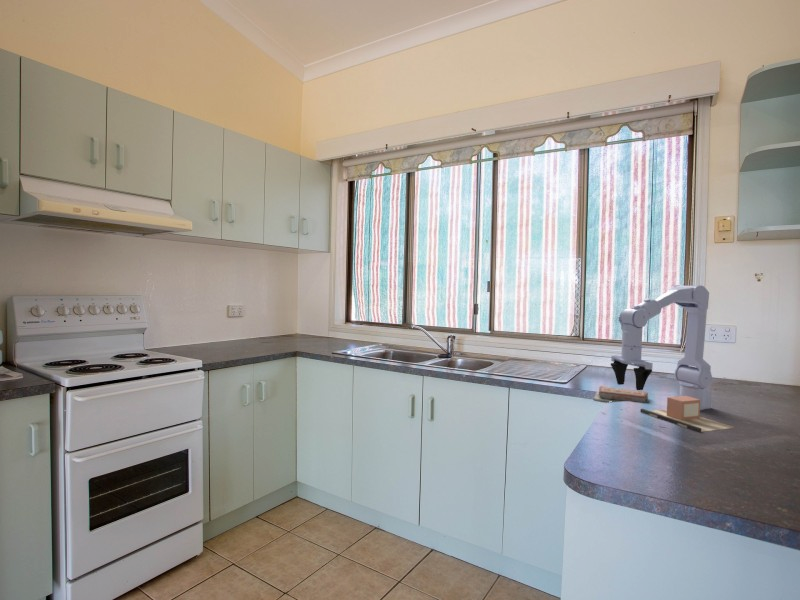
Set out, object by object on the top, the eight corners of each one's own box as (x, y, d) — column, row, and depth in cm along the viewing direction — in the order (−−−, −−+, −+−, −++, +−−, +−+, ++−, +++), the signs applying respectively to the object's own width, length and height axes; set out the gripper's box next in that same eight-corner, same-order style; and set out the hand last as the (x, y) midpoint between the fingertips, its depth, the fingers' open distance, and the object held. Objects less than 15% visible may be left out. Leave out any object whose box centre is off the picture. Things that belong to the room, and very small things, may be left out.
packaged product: (648, 390, 163) (648, 396, 155) (648, 403, 163) (647, 409, 155) (596, 383, 172) (593, 388, 164) (596, 395, 172) (592, 401, 164)
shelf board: (673, 412, 149) (674, 405, 149) (734, 432, 131) (735, 424, 130) (639, 416, 145) (639, 408, 144) (697, 437, 126) (698, 428, 126)
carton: (666, 415, 141) (667, 397, 141) (684, 413, 144) (685, 395, 143) (681, 420, 136) (682, 401, 136) (700, 418, 139) (701, 399, 138)
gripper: (604, 342, 148) (603, 382, 148) (640, 349, 134) (639, 393, 134) (621, 342, 150) (619, 381, 150) (658, 348, 136) (656, 391, 137)
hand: (629, 387), depth 143 cm, fingers open, 7 cm apart
